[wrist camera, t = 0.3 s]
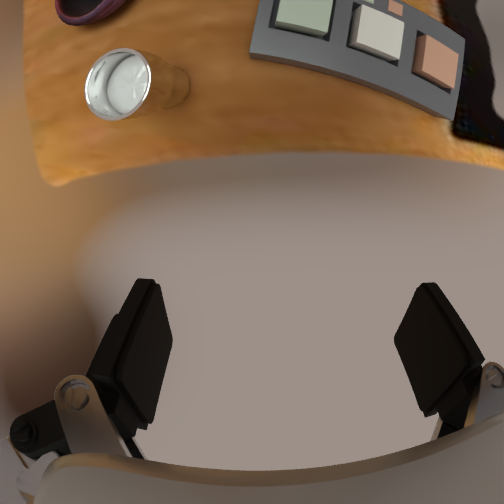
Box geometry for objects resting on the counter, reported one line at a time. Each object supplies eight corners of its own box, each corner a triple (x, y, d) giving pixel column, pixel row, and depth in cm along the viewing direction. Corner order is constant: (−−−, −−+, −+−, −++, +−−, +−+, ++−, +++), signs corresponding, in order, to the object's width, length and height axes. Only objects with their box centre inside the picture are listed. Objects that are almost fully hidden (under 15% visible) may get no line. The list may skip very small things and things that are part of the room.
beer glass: (204, 89, 30) (170, 83, 17) (163, 121, 32) (110, 139, 20) (173, 53, 27) (124, 30, 15) (134, 86, 29) (70, 87, 17)
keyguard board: (267, -26, 21) (269, -40, 17) (447, 41, 23) (465, 39, 19) (249, 58, 28) (249, 51, 24) (435, 116, 30) (453, 121, 26)
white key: (354, 10, 21) (362, 4, 19) (393, 26, 22) (404, 22, 19) (348, 45, 24) (356, 41, 22) (388, 61, 25) (399, 59, 22)
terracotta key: (415, 37, 22) (426, 34, 19) (446, 55, 22) (458, 54, 20) (410, 71, 25) (422, 70, 22) (441, 87, 25) (453, 88, 23)
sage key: (281, -9, 21) (284, -18, 18) (327, 2, 21) (333, -6, 18) (274, 27, 24) (276, 20, 21) (321, 37, 24) (327, 32, 21)
